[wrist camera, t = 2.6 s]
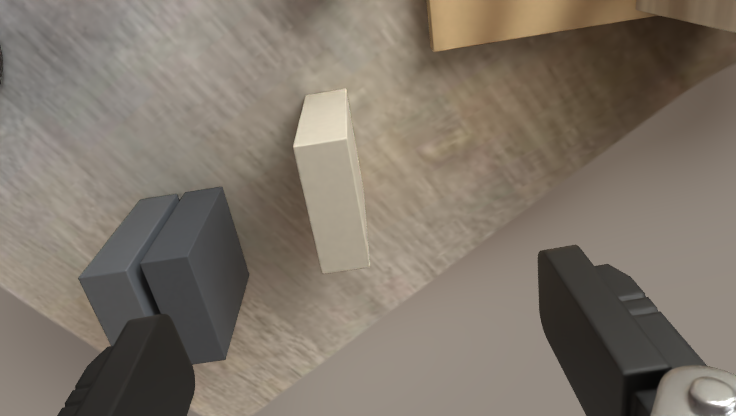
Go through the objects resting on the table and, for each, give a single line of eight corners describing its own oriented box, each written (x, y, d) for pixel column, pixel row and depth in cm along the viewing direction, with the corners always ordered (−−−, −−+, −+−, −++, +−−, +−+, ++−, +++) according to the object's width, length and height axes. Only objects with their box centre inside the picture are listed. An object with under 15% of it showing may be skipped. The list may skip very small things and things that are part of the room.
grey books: (174, 286, 37) (127, 380, 29) (139, 199, 34) (77, 278, 26) (249, 274, 37) (223, 366, 29) (222, 186, 34) (184, 261, 26)
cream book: (326, 198, 35) (321, 275, 27) (305, 94, 31) (292, 146, 23) (364, 192, 35) (370, 267, 27) (346, 88, 31) (347, 137, 23)
